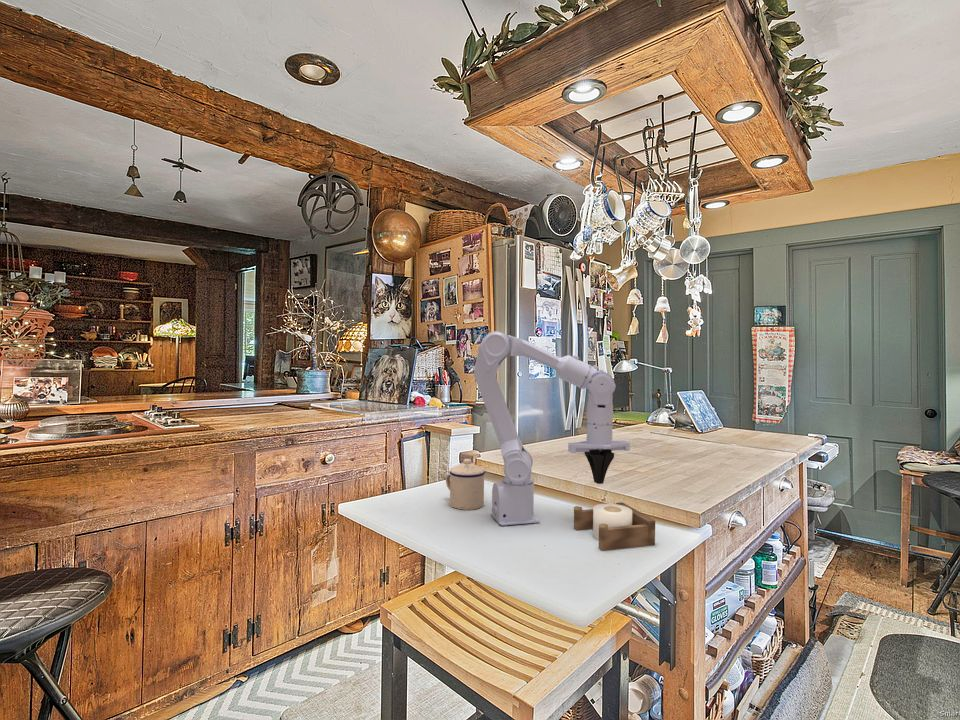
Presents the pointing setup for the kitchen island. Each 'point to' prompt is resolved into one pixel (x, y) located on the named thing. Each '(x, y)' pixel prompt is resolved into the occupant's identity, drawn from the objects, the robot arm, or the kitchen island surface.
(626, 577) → the kitchen island surface
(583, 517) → the holder
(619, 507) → the roll
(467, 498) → the teacup with lid
